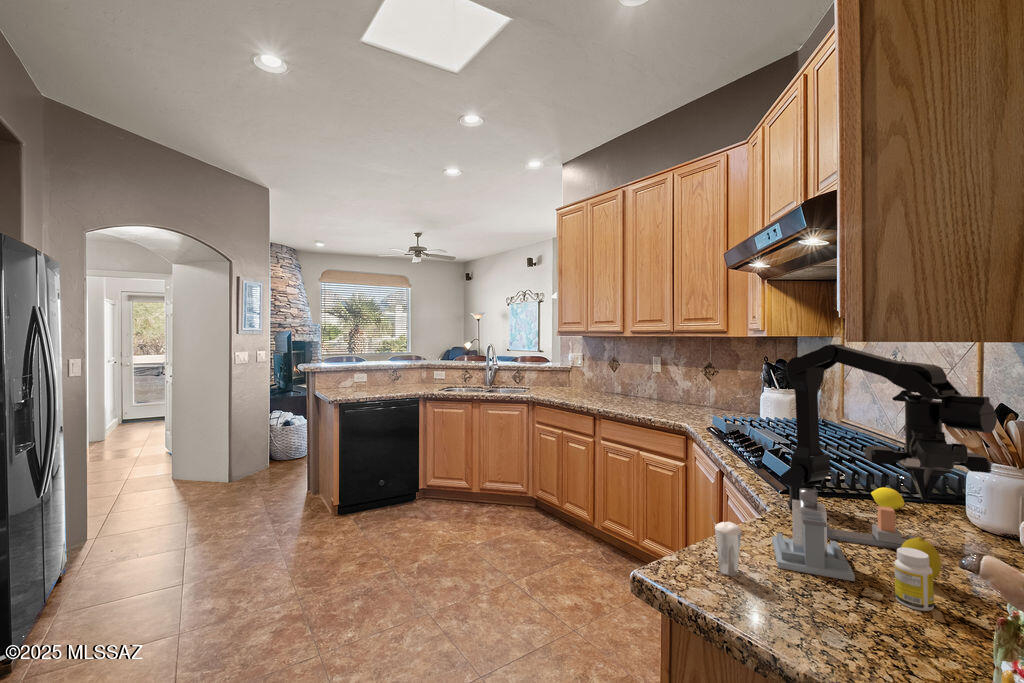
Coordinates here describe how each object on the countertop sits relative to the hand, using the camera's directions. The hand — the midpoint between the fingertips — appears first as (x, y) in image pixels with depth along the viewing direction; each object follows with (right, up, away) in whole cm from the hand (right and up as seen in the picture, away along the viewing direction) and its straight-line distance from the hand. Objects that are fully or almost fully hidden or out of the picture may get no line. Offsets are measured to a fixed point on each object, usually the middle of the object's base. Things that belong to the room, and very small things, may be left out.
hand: (924, 499), depth 94 cm
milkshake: (-45, -11, -8) cm, 47 cm away
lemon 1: (+12, -11, +24) cm, 29 cm away
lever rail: (-8, -11, +4) cm, 14 cm away
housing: (-27, -9, -4) cm, 28 cm away
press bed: (-27, -11, -4) cm, 29 cm away
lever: (-6, -9, +3) cm, 11 cm away
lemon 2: (-13, -11, -13) cm, 21 cm away
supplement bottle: (-20, -11, -20) cm, 30 cm away
